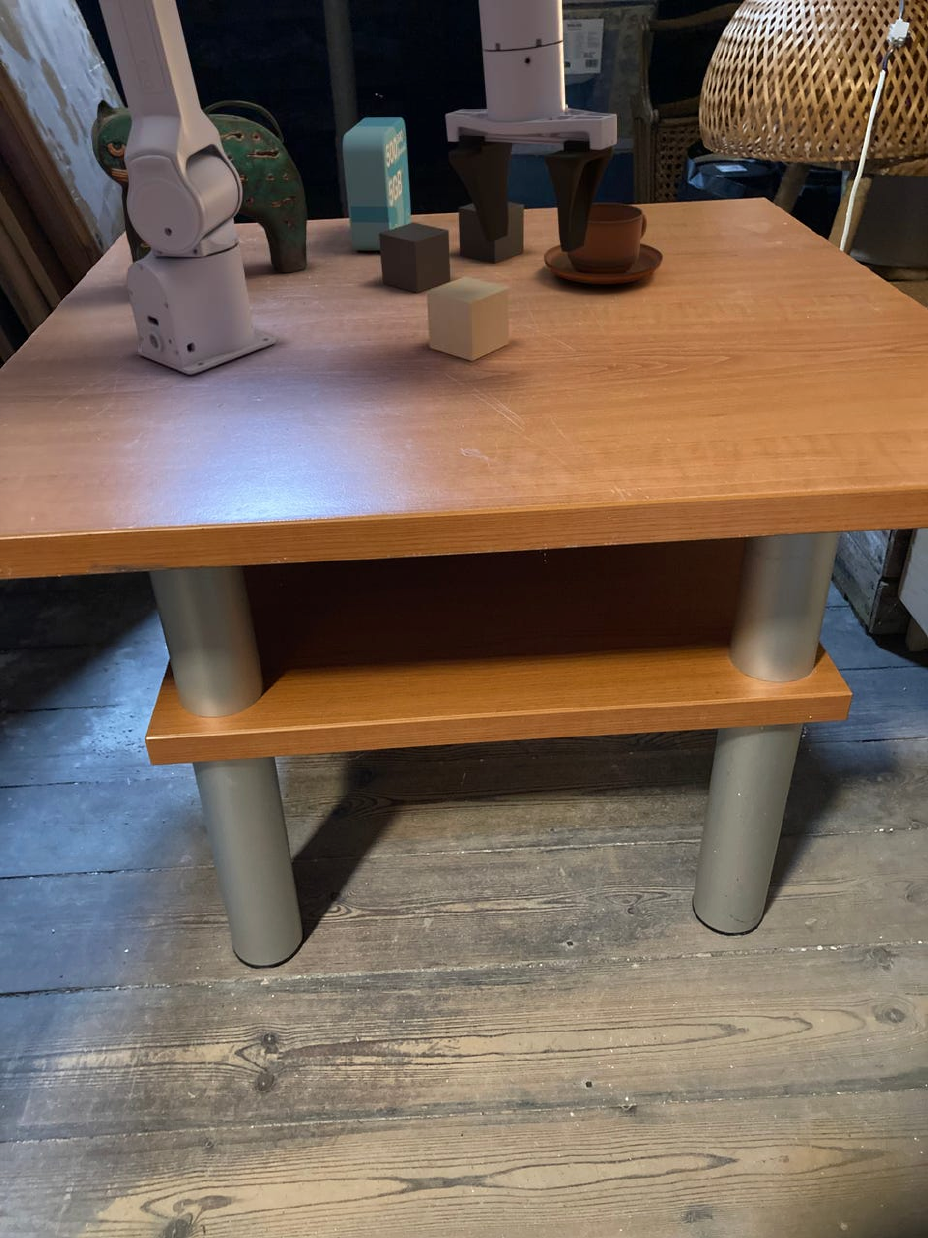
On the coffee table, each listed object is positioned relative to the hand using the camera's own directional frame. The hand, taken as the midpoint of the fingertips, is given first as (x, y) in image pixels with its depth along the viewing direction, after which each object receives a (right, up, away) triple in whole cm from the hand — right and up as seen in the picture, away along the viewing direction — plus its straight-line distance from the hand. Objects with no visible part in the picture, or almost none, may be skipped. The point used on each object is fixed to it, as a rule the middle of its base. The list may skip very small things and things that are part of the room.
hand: (533, 243), depth 76 cm
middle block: (-10, +5, +23) cm, 26 cm away
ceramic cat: (-31, +6, +25) cm, 40 cm away
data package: (-15, +14, +36) cm, 41 cm away
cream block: (-5, -6, +8) cm, 11 cm away
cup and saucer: (+9, +6, +23) cm, 25 cm away
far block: (-2, +11, +30) cm, 32 cm away
